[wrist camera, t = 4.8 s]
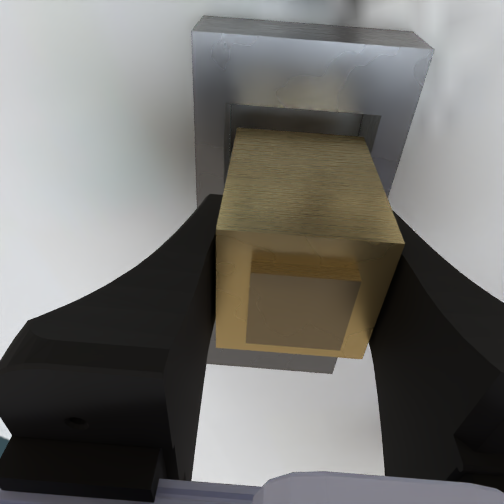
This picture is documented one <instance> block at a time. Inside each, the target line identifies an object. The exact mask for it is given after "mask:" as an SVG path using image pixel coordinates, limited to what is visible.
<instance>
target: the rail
mask: <svg viewBox="0 0 504 504" xmlns="http://www.w3.org/2000/svg"><path fill="white" fill-rule="evenodd" d="M191 33H192V64H193V95H194V126H195V157H196V188H197V208H198V207H199V205H200V204H201V203H202V202H203V200H204V199H205V198H206V196H208V195H209V194H219V195H223V193H224V188H225V183H226V178H227V174H228V169H229V164H230V133H231V104H241V105H254V106H266V107H279V108H292V109H305V110H318V111H331V112H343V113H356V114H363V118H362V122H361V126H360V131H359V135H358V136H359V137H364V139H365V142H366V144H367V147H368V149H369V152H370V155H371V157H372V160H373V162H374V165H375V168H376V170H377V173H378V175H379V178H380V180H381V183H382V186H383V188H384V191H385V193H386V196H387V198H388V195H389V192H390V189H391V186H392V183H393V179H394V176H395V173H396V170H397V167H398V164H399V160H400V157H401V154H402V151H403V148H404V144H405V141H406V138H407V135H408V132H409V129H410V125H411V122H412V119H413V116H414V113H415V110H416V106H417V103H418V100H419V97H420V94H421V91H422V87H423V84H424V81H425V78H426V75H427V71H428V68H429V65H430V62H431V59H432V56H433V52H434V49H433V48H432V47H431V46H430V45H428V44H427V43H426V42H425V41H424V40H422V39H421V38H420V37H419V36H418V35H416V34H415V33H414V32H409V31H396V30H383V29H370V28H357V27H344V26H331V25H318V24H305V23H292V22H279V21H266V20H253V19H240V18H227V17H214V16H203V17H202V18H201V20H200V21H199V22H198V23H197V25H196V26H195V27H194V28H193V30H192V31H191ZM336 360H337V357H328V356H315V355H302V354H290V353H277V352H264V351H251V350H239V349H226V348H216V319H215V323H214V327H213V331H212V335H211V340H210V345H209V350H208V356H207V363H206V364H216V365H228V366H241V367H253V368H266V369H278V370H290V371H303V372H315V373H327V374H332V373H333V370H334V367H335V363H336Z"/></svg>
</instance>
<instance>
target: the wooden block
mask: <svg viewBox="0 0 504 504" xmlns="http://www.w3.org/2000/svg"><path fill="white" fill-rule="evenodd" d="M404 245H405V242H404V240H403V237H402V235H401V232H400V230H399V227H398V224H397V222H396V219H395V217H394V214H393V211H392V209H391V206H390V204H389V201H388V199H387V196H386V193H385V191H384V188H383V186H382V183H381V180H380V178H379V175H378V173H377V170H376V168H375V165H374V162H373V160H372V157H371V155H370V152H369V149H368V147H367V144H366V142H365V139H364V137H359V136H346V135H333V134H319V133H306V132H293V131H279V130H266V129H253V128H239V127H237V130H236V135H235V140H234V145H233V150H232V154H231V159H230V164H229V169H228V174H227V178H226V183H225V188H224V193H223V197H222V202H221V207H220V212H219V217H218V221H217V226H216V348H226V349H239V350H251V351H264V352H277V353H290V354H302V355H315V356H328V357H341V358H353V359H362V358H363V356H364V353H365V350H366V347H367V345H368V342H369V339H370V337H371V334H372V331H373V329H374V326H375V323H376V321H377V318H378V315H379V313H380V310H381V307H382V305H383V302H384V299H385V296H386V294H387V291H388V288H389V286H390V283H391V280H392V278H393V275H394V272H395V270H396V267H397V264H398V262H399V259H400V256H401V254H402V251H403V248H404Z"/></svg>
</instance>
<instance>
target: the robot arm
mask: <svg viewBox="0 0 504 504" xmlns="http://www.w3.org/2000/svg"><path fill="white" fill-rule="evenodd" d="M222 197H223V195H219V194H209V195H208V196H206V198H205V199H204V200H203V202H202V203H201V204H200V205H199V207H198V208H197V209H196V210H195V212H194V213H193V214H192V215H191V216H190V217H189V219H188V220H187V221H186V222H185V223H184V224H183V225H182V226H181V227H180V228H179V229H178V230H177V231H176V232H175V233H174V234H173V235H172V236H171V237H170V238H169V239H168V240H167V241H166V242H165V243H164V244H163V245H162V246H161V247H160V248H158V249H157V250H156V251H155V252H154V253H153V254H151V255H150V256H149V257H148V258H146V259H145V260H144V261H142V262H141V263H140V264H138V265H137V266H136V267H134V268H133V269H131V270H130V271H128V272H127V273H125V274H123V275H122V276H120V277H119V278H117V279H115V280H114V281H112V282H111V283H109V284H107V285H106V286H104V287H102V288H100V289H98V290H96V291H94V292H93V293H91V294H88V295H86V296H84V297H82V298H80V299H78V300H76V301H74V302H72V303H70V304H68V305H65V306H63V307H60V308H58V309H56V310H53V311H51V312H48V313H46V314H43V315H41V316H39V317H36V318H33V319H31V320H28V321H27V323H26V324H25V325H24V327H23V328H22V329H21V330H20V332H19V333H18V334H17V336H16V337H15V338H14V340H13V341H12V343H11V344H10V346H9V347H8V349H7V351H6V352H5V354H4V355H3V357H2V359H1V360H0V417H1V419H2V420H3V422H4V423H5V425H6V427H7V428H8V430H9V431H10V433H11V434H12V437H11V439H10V441H9V443H8V445H7V447H6V449H5V450H4V453H3V454H2V456H1V458H0V504H504V303H503V302H501V301H500V300H498V299H497V298H495V297H494V296H492V295H491V294H489V293H488V292H486V291H485V290H484V289H482V288H481V287H479V286H478V285H476V284H475V283H474V282H472V281H471V280H470V279H468V278H467V277H466V276H464V275H463V274H462V273H460V272H459V271H458V270H457V269H456V268H454V267H453V266H452V265H451V264H450V263H448V262H447V261H446V260H445V259H444V258H442V257H441V256H440V255H439V254H438V253H437V252H436V251H434V250H433V249H432V248H431V247H430V246H429V245H428V244H427V243H426V242H425V241H424V240H423V239H422V238H421V237H420V236H418V235H417V234H416V233H415V232H414V231H413V230H412V229H411V228H410V227H409V226H408V225H407V224H406V223H405V222H404V221H403V220H402V219H401V218H400V217H399V216H398V215H397V214H396V213H395V212H394V211H393V210H392V211H393V214H394V217H395V219H396V222H397V224H398V227H399V230H400V232H401V235H402V237H403V240H404V242H405V245H404V248H403V251H402V254H401V256H400V259H399V262H398V264H397V267H396V270H395V272H394V275H393V278H392V280H391V283H390V286H389V288H388V291H387V294H386V296H385V299H384V302H383V305H382V307H381V310H380V313H379V315H378V318H377V321H376V323H375V326H374V329H373V331H372V334H371V337H370V339H369V345H370V349H371V354H372V359H373V364H374V371H375V379H376V386H377V394H378V403H379V412H380V421H381V432H382V443H383V455H384V468H385V476H376V475H364V474H351V473H339V472H326V471H318V472H292V473H289V474H286V475H283V476H279V477H276V478H273V479H270V480H268V481H267V482H266V483H265V484H264V485H263V486H262V487H257V486H245V485H232V484H220V483H208V482H195V481H191V479H192V470H193V462H194V454H195V446H196V438H197V430H198V422H199V414H200V407H201V399H202V392H203V384H204V377H205V370H206V363H207V356H208V350H209V345H210V340H211V335H212V331H213V327H214V323H215V319H216V226H217V221H218V217H219V212H220V207H221V202H222Z"/></svg>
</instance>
